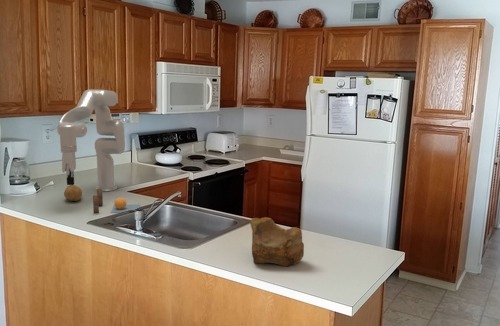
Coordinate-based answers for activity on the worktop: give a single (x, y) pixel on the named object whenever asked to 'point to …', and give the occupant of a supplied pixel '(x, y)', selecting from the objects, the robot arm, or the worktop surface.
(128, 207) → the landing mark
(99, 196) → the inner post
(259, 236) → the rough brown rock
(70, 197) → the potato
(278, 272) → the worktop surface
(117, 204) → the ball
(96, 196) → the outer post
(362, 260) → the worktop surface
